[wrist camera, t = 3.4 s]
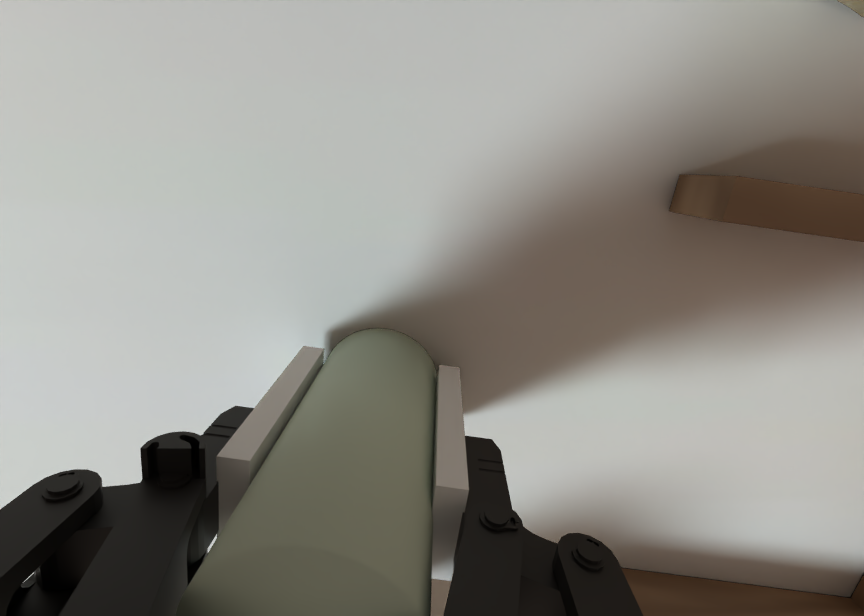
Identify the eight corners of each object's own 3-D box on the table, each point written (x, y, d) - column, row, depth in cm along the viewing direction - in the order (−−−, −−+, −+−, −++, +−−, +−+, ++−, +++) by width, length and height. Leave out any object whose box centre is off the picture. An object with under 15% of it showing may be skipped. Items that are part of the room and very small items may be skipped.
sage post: (327, 320, 17) (169, 528, 7) (445, 337, 17) (447, 564, 7) (320, 423, 18) (178, 716, 8) (429, 438, 18) (412, 745, 8)
